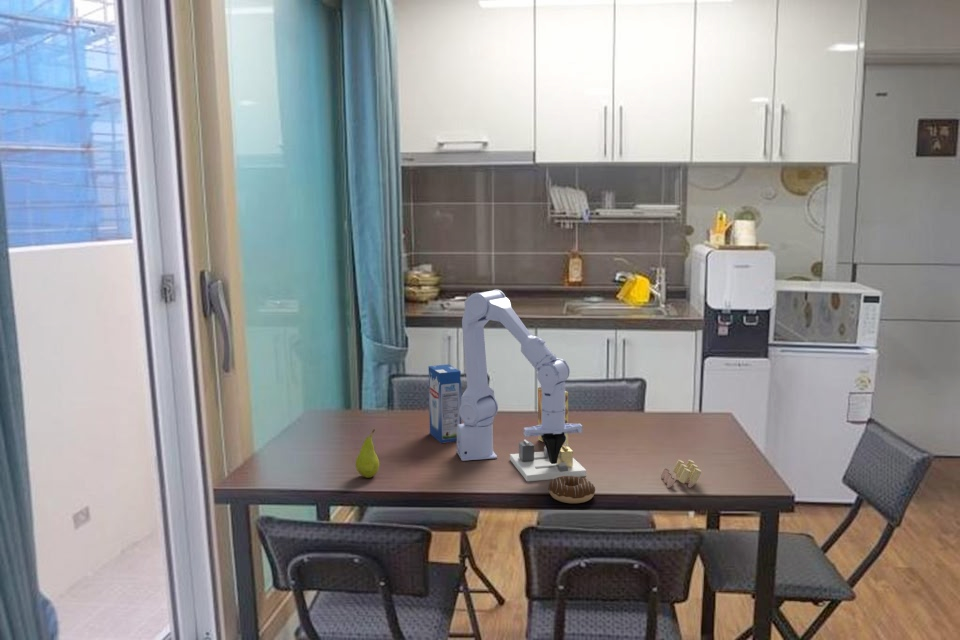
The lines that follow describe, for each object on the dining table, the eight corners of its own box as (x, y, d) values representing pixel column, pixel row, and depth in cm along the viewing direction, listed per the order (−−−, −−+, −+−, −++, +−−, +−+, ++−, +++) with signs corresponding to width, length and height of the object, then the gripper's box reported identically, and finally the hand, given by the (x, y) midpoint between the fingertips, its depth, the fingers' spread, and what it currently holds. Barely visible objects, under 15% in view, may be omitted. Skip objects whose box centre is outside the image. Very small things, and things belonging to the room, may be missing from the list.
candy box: (569, 445, 208) (569, 391, 206) (557, 448, 206) (557, 393, 204) (548, 437, 216) (549, 385, 213) (537, 440, 213) (537, 387, 211)
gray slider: (522, 461, 191) (522, 443, 190) (518, 457, 194) (518, 439, 194) (534, 460, 192) (534, 443, 191) (530, 456, 195) (530, 438, 194)
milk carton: (461, 440, 214) (460, 371, 211) (440, 443, 212) (439, 373, 209) (449, 430, 223) (448, 364, 220) (429, 433, 221) (428, 366, 218)
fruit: (351, 476, 186) (349, 429, 184) (370, 470, 190) (369, 424, 189) (365, 482, 182) (363, 434, 180) (384, 476, 186) (383, 429, 184)
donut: (539, 500, 171) (539, 483, 170) (561, 485, 180) (561, 469, 179) (582, 510, 165) (582, 492, 165) (602, 494, 174) (603, 478, 173)
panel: (526, 481, 182) (526, 466, 181) (510, 459, 197) (510, 446, 197) (586, 476, 185) (586, 461, 185) (564, 455, 201) (565, 441, 200)
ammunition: (693, 458, 183) (660, 459, 183) (702, 469, 176) (668, 469, 176) (693, 477, 184) (660, 477, 184) (701, 489, 177) (667, 489, 177)
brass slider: (561, 467, 186) (561, 449, 186) (556, 462, 190) (556, 445, 189) (572, 466, 187) (572, 448, 186) (568, 461, 190) (568, 444, 190)
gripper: (529, 415, 180) (529, 470, 182) (587, 411, 183) (586, 465, 185) (521, 408, 187) (521, 460, 189) (577, 404, 190) (576, 456, 192)
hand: (553, 462), depth 188 cm, fingers closed
